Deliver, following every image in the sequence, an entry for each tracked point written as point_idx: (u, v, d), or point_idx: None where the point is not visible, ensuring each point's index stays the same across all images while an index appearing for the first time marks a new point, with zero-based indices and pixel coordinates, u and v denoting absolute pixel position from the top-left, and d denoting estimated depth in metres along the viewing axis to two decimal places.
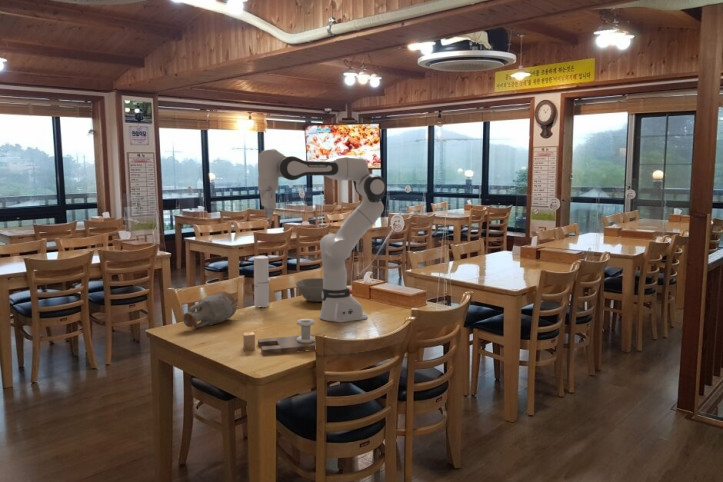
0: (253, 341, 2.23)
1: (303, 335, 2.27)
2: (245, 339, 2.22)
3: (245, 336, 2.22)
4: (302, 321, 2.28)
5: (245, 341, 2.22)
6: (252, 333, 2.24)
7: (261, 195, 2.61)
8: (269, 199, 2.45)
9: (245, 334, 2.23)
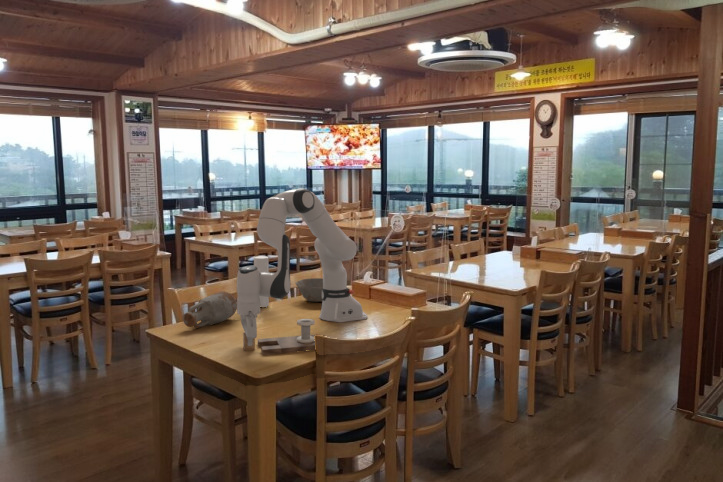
0: (253, 341, 2.23)
1: (303, 335, 2.27)
2: (245, 339, 2.22)
3: (245, 336, 2.22)
4: (302, 321, 2.28)
5: (245, 341, 2.22)
6: None
7: None
8: (249, 328, 2.14)
9: (245, 334, 2.23)
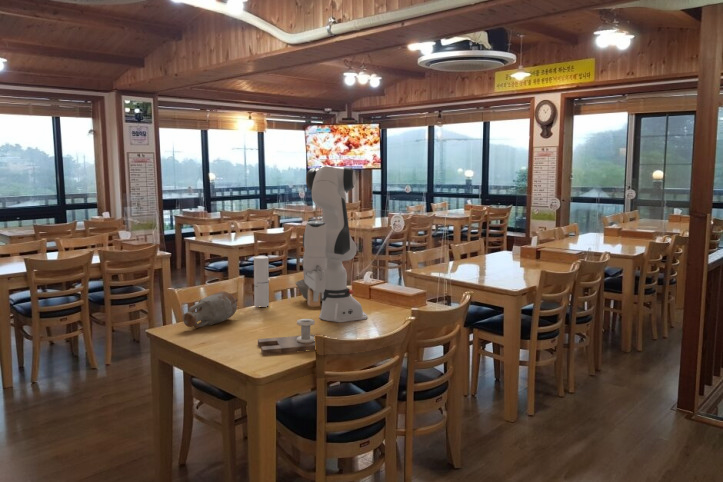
0: (318, 297, 2.18)
1: (303, 335, 2.27)
2: (311, 294, 2.17)
3: (311, 291, 2.17)
4: (302, 321, 2.28)
5: (311, 297, 2.17)
6: None
7: (305, 272, 2.25)
8: (317, 282, 2.09)
9: (310, 290, 2.18)
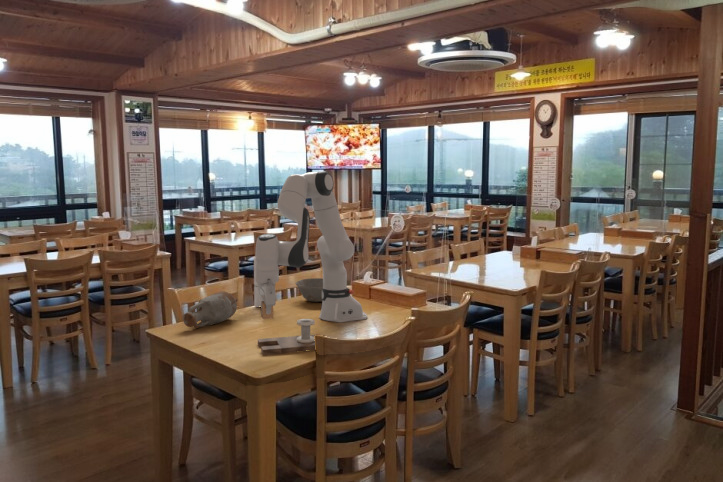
0: (271, 309, 2.21)
1: (303, 335, 2.27)
2: (263, 307, 2.20)
3: (263, 304, 2.20)
4: (302, 321, 2.28)
5: (263, 309, 2.20)
6: None
7: None
8: (268, 295, 2.12)
9: (263, 302, 2.21)
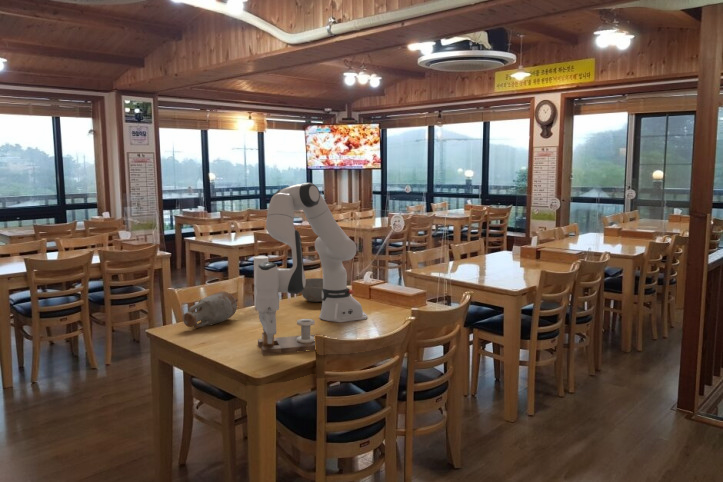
0: (272, 341, 2.23)
1: (303, 335, 2.27)
2: (264, 339, 2.22)
3: (264, 336, 2.22)
4: (302, 321, 2.28)
5: (264, 341, 2.22)
6: None
7: None
8: (269, 325, 2.14)
9: (264, 334, 2.23)
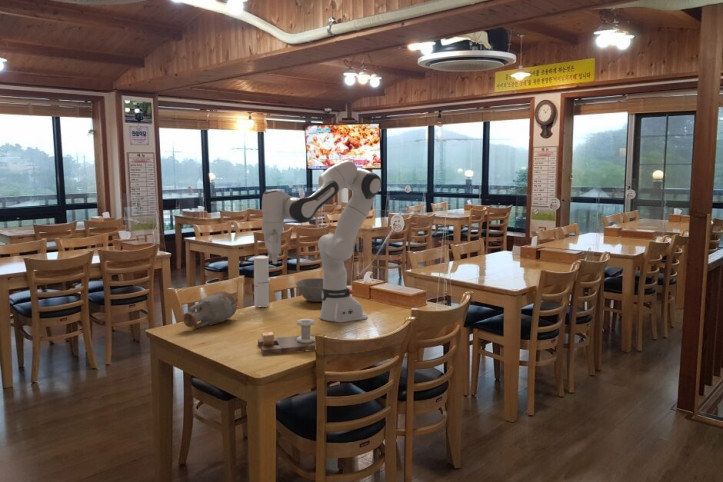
0: (272, 341, 2.23)
1: (303, 335, 2.27)
2: (264, 339, 2.22)
3: (264, 336, 2.22)
4: (302, 321, 2.28)
5: (264, 341, 2.22)
6: (271, 333, 2.25)
7: (265, 237, 2.45)
8: (274, 244, 2.29)
9: (264, 334, 2.23)
